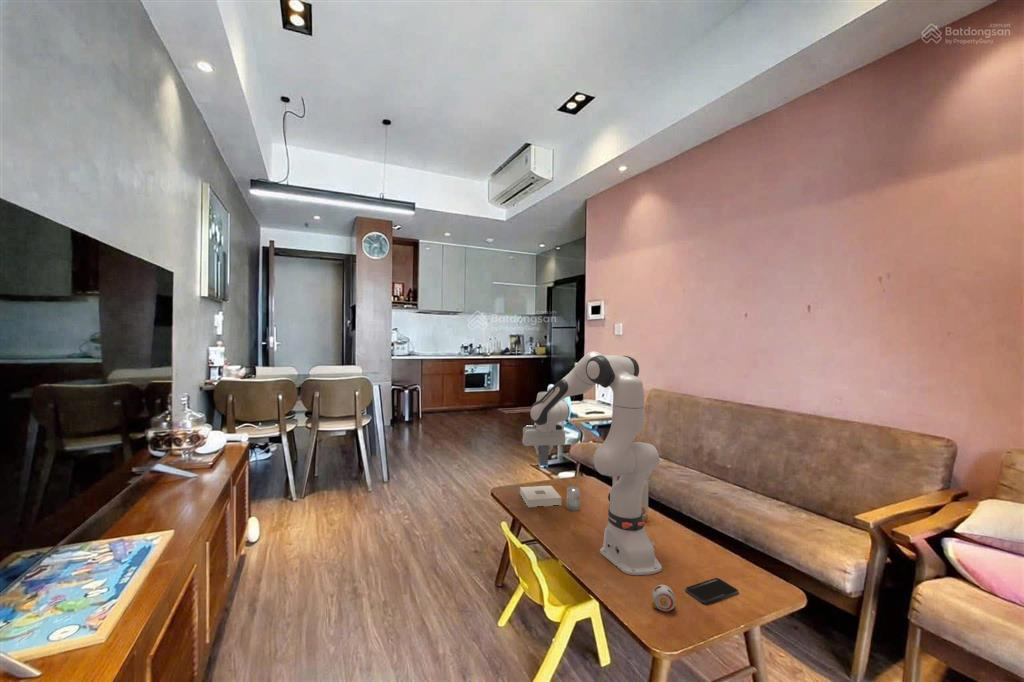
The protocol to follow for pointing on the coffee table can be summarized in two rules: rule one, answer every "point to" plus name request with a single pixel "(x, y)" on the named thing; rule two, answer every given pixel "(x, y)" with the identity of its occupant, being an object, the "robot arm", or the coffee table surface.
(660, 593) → the roller toy
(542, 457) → the square peg
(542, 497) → the socket block
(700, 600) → the phone
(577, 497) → the round peg
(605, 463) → the robot arm
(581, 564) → the coffee table surface
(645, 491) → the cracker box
